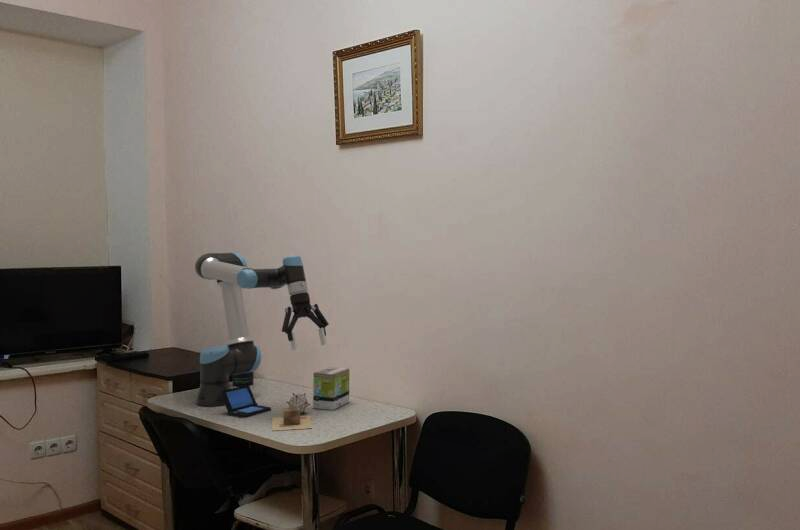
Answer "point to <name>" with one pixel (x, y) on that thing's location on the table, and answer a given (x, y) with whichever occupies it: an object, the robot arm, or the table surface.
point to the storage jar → (243, 379)
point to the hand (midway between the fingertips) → (309, 346)
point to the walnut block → (291, 415)
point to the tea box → (331, 388)
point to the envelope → (279, 425)
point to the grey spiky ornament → (298, 402)
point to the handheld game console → (242, 402)
